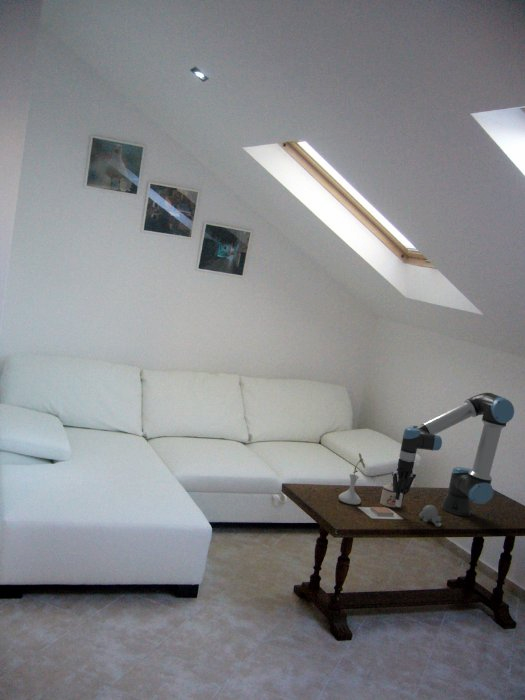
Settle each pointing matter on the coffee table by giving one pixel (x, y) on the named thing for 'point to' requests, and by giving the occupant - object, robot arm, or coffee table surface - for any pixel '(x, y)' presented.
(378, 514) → the tile
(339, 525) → the coffee table surface
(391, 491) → the teacup with lid
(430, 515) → the chubby cartoon animal
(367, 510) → the mat
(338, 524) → the coffee table surface
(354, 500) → the flower in vase
